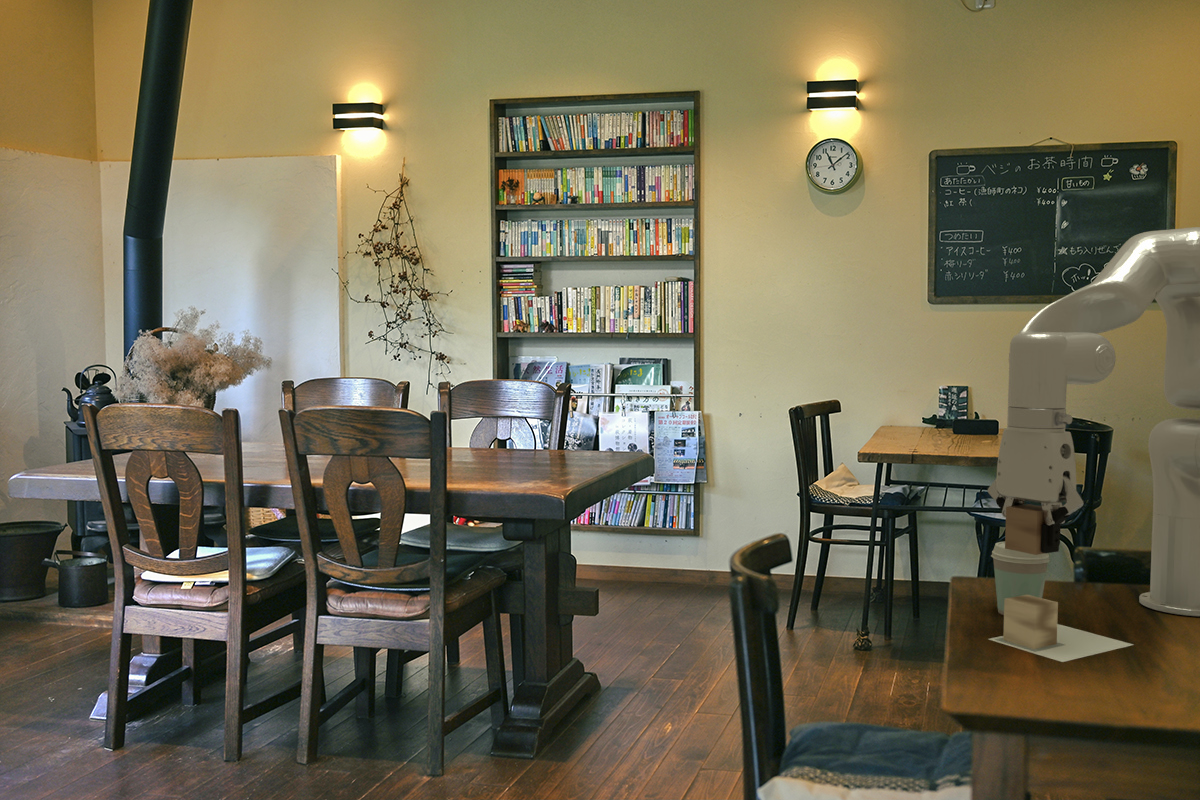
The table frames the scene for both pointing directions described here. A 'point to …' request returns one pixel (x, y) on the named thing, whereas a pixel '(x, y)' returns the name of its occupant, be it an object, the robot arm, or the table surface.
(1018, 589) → the coffee cup
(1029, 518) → the walnut block
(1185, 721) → the table surface
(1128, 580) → the table surface
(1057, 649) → the build board
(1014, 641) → the beech block
